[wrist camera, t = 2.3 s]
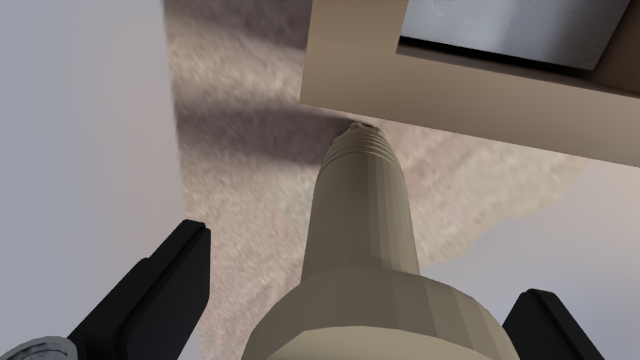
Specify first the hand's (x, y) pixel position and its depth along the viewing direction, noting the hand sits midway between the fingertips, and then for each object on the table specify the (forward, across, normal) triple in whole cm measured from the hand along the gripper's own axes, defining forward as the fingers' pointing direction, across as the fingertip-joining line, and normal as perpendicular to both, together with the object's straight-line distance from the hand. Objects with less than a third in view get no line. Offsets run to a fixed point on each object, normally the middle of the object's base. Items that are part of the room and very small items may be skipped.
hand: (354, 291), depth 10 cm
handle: (+11, 0, -1) cm, 11 cm away
